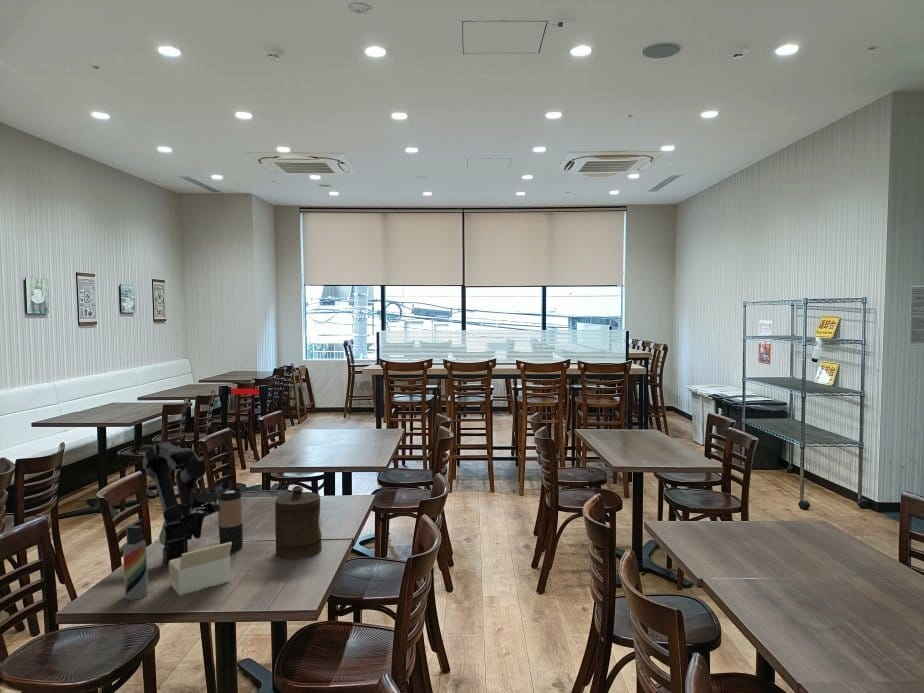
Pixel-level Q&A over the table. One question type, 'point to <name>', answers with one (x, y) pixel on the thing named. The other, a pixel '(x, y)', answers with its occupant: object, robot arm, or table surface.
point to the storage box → (198, 575)
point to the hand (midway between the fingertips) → (198, 538)
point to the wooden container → (297, 524)
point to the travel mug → (231, 518)
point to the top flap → (205, 555)
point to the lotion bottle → (135, 564)
